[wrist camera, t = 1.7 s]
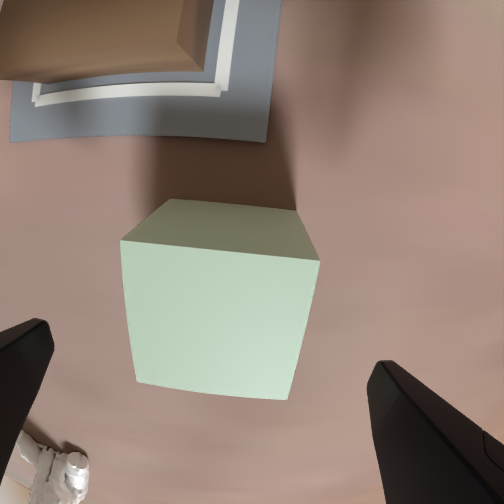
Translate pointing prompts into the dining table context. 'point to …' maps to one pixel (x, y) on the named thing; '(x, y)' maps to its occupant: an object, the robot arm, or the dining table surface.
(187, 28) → the walnut base
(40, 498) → the white creature statuette
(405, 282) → the dining table surface
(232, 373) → the sage block
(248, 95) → the blueprint mat
